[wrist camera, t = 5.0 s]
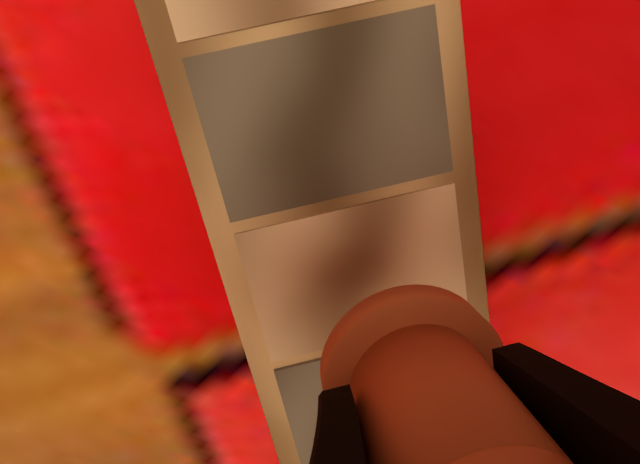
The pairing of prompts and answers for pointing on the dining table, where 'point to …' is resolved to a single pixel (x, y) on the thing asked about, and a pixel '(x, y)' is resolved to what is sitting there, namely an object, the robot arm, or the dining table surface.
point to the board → (321, 168)
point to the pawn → (430, 383)
